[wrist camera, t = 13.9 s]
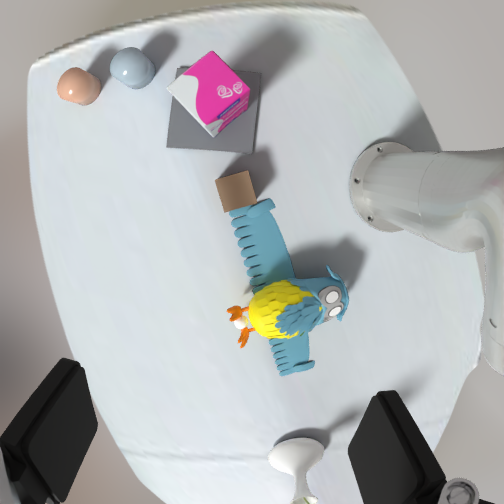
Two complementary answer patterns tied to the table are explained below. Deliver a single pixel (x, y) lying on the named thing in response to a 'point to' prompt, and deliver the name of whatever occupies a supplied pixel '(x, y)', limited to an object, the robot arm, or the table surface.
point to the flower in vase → (297, 464)
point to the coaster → (230, 138)
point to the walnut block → (236, 191)
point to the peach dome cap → (78, 86)
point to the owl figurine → (282, 291)
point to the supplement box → (211, 93)
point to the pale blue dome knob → (132, 68)
